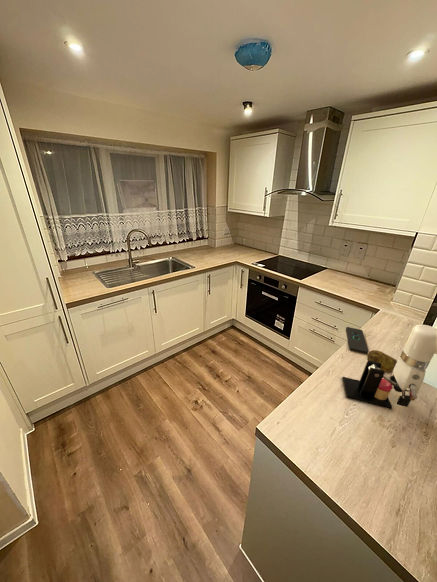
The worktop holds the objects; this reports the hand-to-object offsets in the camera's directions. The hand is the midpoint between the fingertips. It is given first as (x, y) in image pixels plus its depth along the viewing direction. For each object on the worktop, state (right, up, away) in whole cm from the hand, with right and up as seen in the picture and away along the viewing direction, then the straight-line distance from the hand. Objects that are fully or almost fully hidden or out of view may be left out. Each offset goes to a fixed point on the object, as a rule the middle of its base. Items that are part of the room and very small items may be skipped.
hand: (396, 394), depth 87 cm
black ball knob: (-5, +5, 0) cm, 8 cm away
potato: (+5, +4, +17) cm, 18 cm away
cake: (-5, -1, +2) cm, 6 cm away
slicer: (-10, -1, +4) cm, 10 cm away
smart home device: (+5, +13, +34) cm, 37 cm away
